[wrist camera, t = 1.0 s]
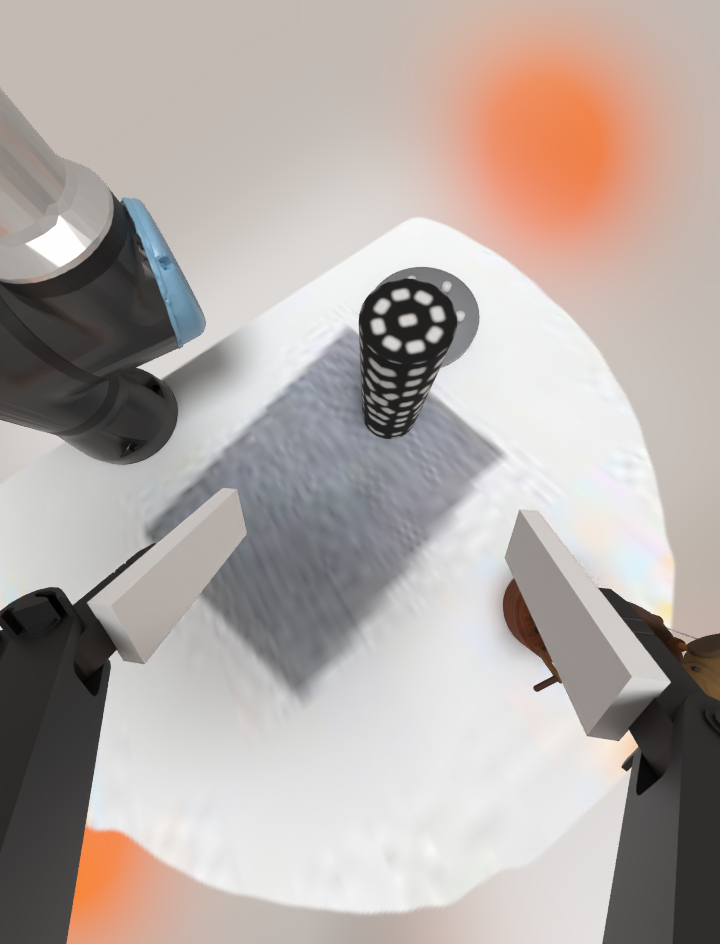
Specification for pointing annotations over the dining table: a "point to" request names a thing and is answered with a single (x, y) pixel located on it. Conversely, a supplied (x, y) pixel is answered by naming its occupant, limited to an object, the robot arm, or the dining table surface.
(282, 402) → the dining table surface
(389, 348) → the white-spotted black cylinder
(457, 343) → the stub plate
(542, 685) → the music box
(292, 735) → the dining table surface
